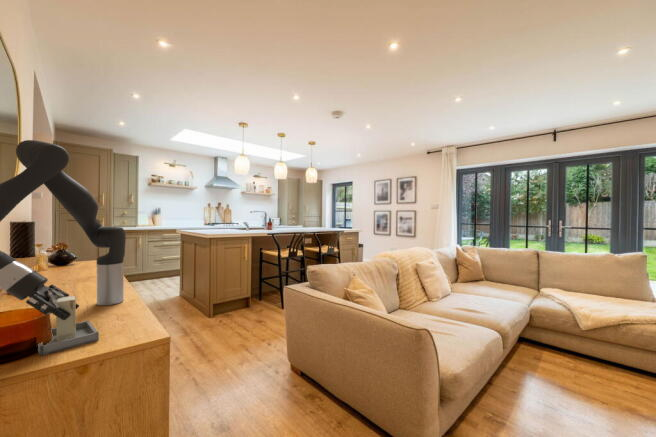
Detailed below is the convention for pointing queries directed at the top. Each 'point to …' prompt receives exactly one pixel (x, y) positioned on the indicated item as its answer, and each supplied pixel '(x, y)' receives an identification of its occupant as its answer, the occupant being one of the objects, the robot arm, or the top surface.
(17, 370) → the top surface
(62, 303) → the skincare box
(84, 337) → the tray
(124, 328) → the top surface
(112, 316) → the top surface
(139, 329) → the top surface
